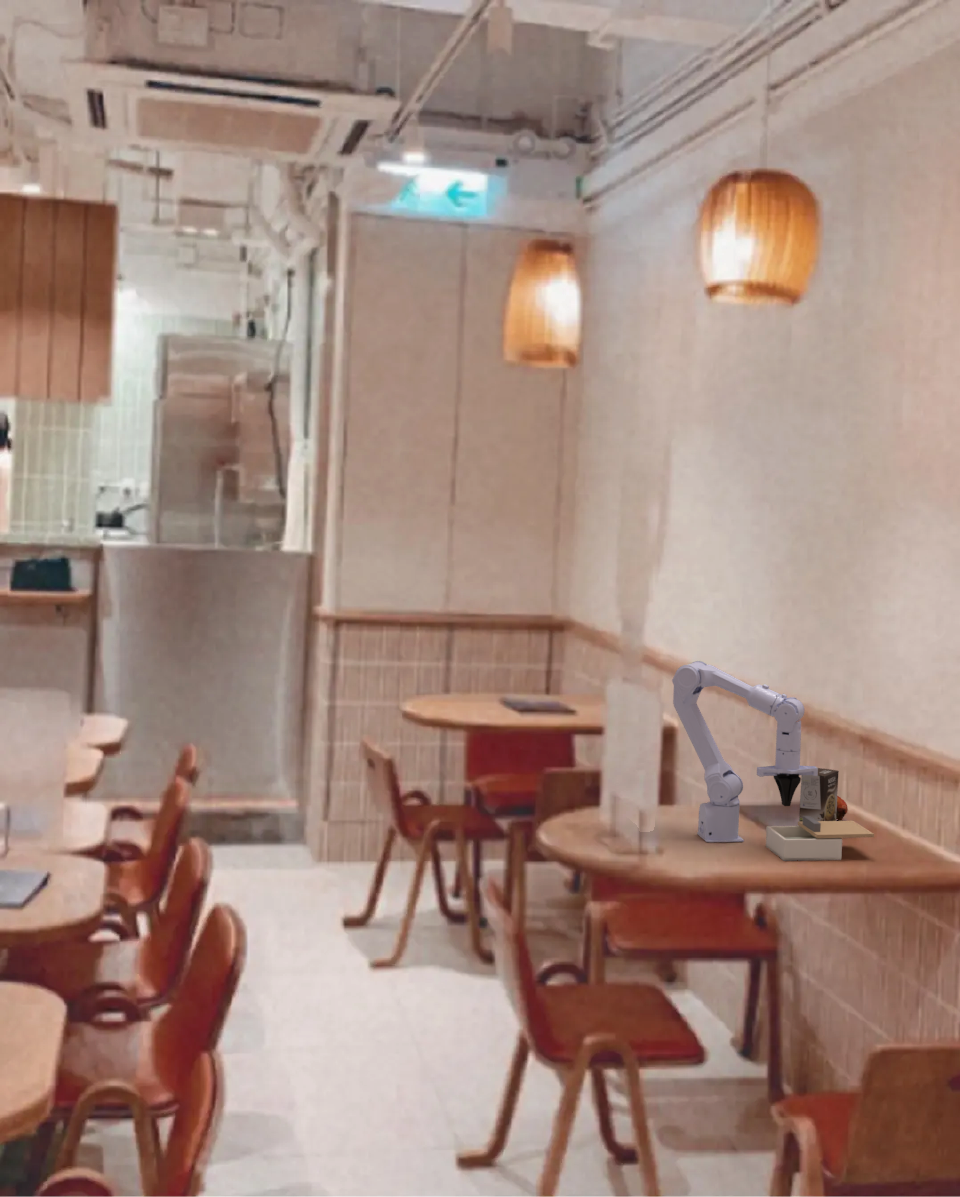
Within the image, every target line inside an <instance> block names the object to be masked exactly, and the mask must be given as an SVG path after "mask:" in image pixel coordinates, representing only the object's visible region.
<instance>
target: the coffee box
mask: <svg viewBox="0 0 960 1197" xmlns="http://www.w3.org/2000/svg"><path fill="white" fill-rule="evenodd" d="M817 768H818V776H813V775H801V776H800V778H801V781H800V796H799V797H800V799H799V813H798V814H799V815H798V816H799V817H798V821H803V816H810V817H812V818H813V819H815V820H816V821H836V811H837V796H838V789H839V788H838V787H839V770H836V769H830V768H821V767H820V768H819V767H817Z"/></svg>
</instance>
